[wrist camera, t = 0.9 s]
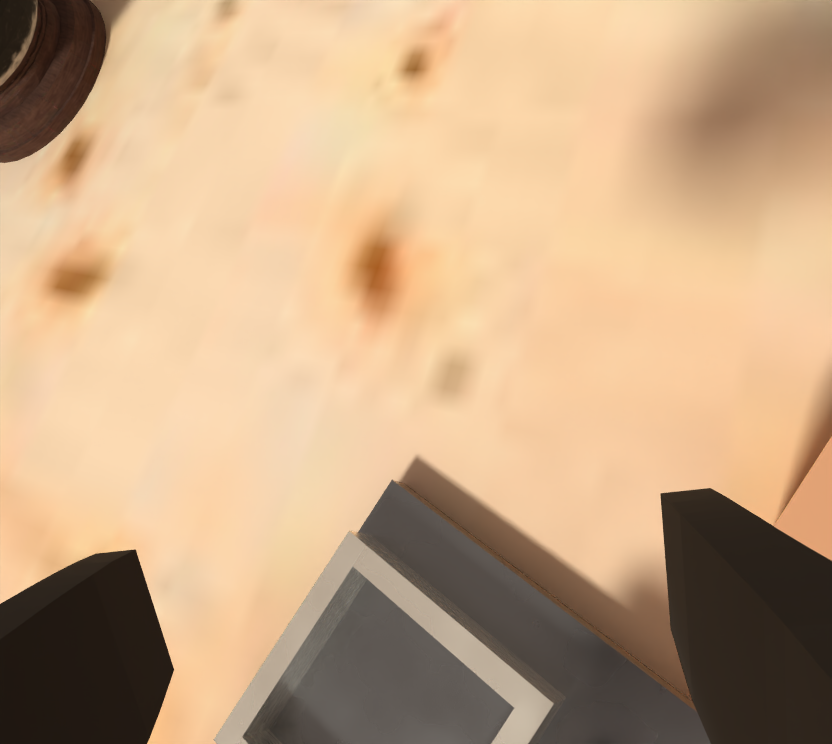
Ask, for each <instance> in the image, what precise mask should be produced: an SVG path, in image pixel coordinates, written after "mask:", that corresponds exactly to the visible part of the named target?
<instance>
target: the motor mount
mask: <svg viewBox="0 0 832 744" xmlns="http://www.w3.org/2000/svg"><path fill="white" fill-rule="evenodd" d="M214 741H215V742H216V743H217V744H711V743H710V741H709V738H708V736H707V734H706V731H705V729H704V727H703V724H702V722H701V720H700V717H699V715H698V713H697V710H696V708H695V706H694V703H693V702H692V701H691V700H689V699H688V698H687V697H685V696H684V695H683V694H681V693H680V692H679V691H677V690H676V689H675V688H674V687H672V686H671V685H670V684H668V683H667V682H666V681H664V680H663V679H662V678H660V677H659V676H658V675H656V674H655V673H654V672H652V671H651V670H650V669H648V668H647V667H646V666H644V665H643V664H642V663H640V662H639V661H638V660H637V659H635V658H634V657H633V656H631V655H630V654H629V653H627V652H626V651H625V650H623V649H622V648H621V647H619V646H618V645H617V644H615V643H614V642H613V641H611V640H610V639H609V638H607V637H606V636H605V635H603V634H602V633H601V632H600V631H598V630H597V629H596V628H594V627H593V626H592V625H590V624H589V623H588V622H586V621H585V620H584V619H582V618H581V617H580V616H578V615H577V614H576V613H574V612H573V611H572V610H570V609H569V608H568V607H566V606H565V605H564V604H563V603H561V602H560V601H559V600H557V599H556V598H555V597H553V596H552V595H551V594H549V593H548V592H547V591H545V590H544V589H543V588H541V587H540V586H539V585H537V584H536V583H535V582H533V581H532V580H531V579H529V578H528V577H527V576H526V575H524V574H523V573H522V572H520V571H519V570H518V569H516V568H515V567H514V566H512V565H511V564H510V563H508V562H507V561H506V560H504V559H503V558H502V557H500V556H499V555H498V554H496V553H495V552H494V551H492V550H491V549H490V548H489V547H487V546H486V545H485V544H483V543H482V542H481V541H479V540H478V539H477V538H475V537H474V536H473V535H471V534H470V533H469V532H467V531H466V530H465V529H463V528H462V527H461V526H459V525H458V524H457V523H455V522H454V521H453V520H451V519H450V518H449V517H448V516H446V515H445V514H444V513H442V512H441V511H440V510H438V509H437V508H436V507H434V506H433V505H432V504H430V503H429V502H428V501H426V500H425V499H424V498H422V497H421V496H420V495H418V494H417V493H416V492H414V491H413V490H412V489H411V488H409V487H408V486H407V485H405V484H403V483H400V482H397V481H394V480H392V481H391V482H390V484H389V485H388V487H387V488H386V490H385V492H384V493H383V495H382V496H381V498H380V499H379V501H378V502H377V504H376V505H375V507H374V509H373V510H372V512H371V513H370V515H369V516H368V518H367V519H366V521H365V522H364V524H363V525H362V527H361V529H360V530H359V532H352V531H349V532H348V534H347V535H346V537H345V538H344V540H343V541H342V543H341V544H340V546H339V547H338V549H337V550H336V552H335V554H334V555H333V557H332V558H331V560H330V561H329V563H328V564H327V566H326V567H325V569H324V571H323V572H322V574H321V575H320V577H319V578H318V580H317V581H316V583H315V584H314V586H313V587H312V589H311V591H310V592H309V594H308V595H307V597H306V598H305V600H304V601H303V603H302V604H301V606H300V607H299V609H298V611H297V612H296V614H295V615H294V617H293V618H292V620H291V621H290V623H289V624H288V626H287V628H286V629H285V631H284V632H283V634H282V635H281V637H280V638H279V640H278V641H277V643H276V644H275V646H274V648H273V649H272V651H271V652H270V654H269V655H268V657H267V658H266V660H265V661H264V663H263V665H262V666H261V668H260V669H259V671H258V672H257V674H256V675H255V677H254V678H253V680H252V681H251V683H250V685H249V686H248V688H247V689H246V691H245V692H244V694H243V695H242V697H241V698H240V700H239V701H238V703H237V705H236V706H235V708H234V709H233V711H232V712H231V714H230V715H229V717H228V718H227V720H226V722H225V723H224V725H223V726H222V728H221V729H220V731H219V732H218V734H217V735H216V737H215V738H214Z"/></svg>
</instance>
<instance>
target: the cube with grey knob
mask: <svg viewBox="0 0 832 744" xmlns="http://www.w3.org/2000/svg"><path fill="white" fill-rule="evenodd" d="M774 527H776V528H777V529H779V530H780V531H782V532H784V533H785V534H787V535H789V536H790V537H792V538H794V539H795V540H797V541H799V542H800V543H802V544H804V545H806V546H807V547H809V548H811V549H812V550H814V551H816V552H817V553H819V554H821V555H823V556H824V557H826V558H828V559H830V560H831V561H832V437H831V438H830V440H829V441H828V443H827V444H826V446H825V447H824V449H823V450H822V452H821V454H820V455H819V457H818V458H817V460H816V461H815V463H814V464H813V466H812V467H811V469H810V471H809V472H808V474H807V475H806V477H805V478H804V480H803V481H802V483H801V484H800V486H799V488H798V489H797V491H796V492H795V494H794V495H793V497H792V498H791V500H790V501H789V503H788V505H787V506H786V508H785V509H784V511H783V512H782V514H781V515H780V517H779V518H778V520H777V522H776V523H775V525H774Z"/></svg>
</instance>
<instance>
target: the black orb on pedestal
mask: <svg viewBox="0 0 832 744" xmlns="http://www.w3.org/2000/svg"><path fill="white" fill-rule="evenodd" d="M105 43H106V33H105V24H104V21H103V18H102V16H101V13H100V12H99V10H98V9H97V8H96V7H95V5H94V4H93V3H92V2H90V1H89V0H0V162H2V163H6V162H12V161H18V160H20V159H22V158H25V157H27V156H30V155H32V154H33V153H35V152H37V151H38V150H40V149H41V148H43V147H44V146H46V145H47V144H48V143H49V142H51V141H52V140H53V139H54V138H55V137H56V136H58V135H59V134H60V133H61V132H62V131H63V129H64V128H65V127H66V126H67V125H68V124H69V123H70V122H71V121H72V119H73V118H74V117H75V115H76V114H77V113H78V111H79V110H80V108H81V107H82V106H83V104H84V102H85V101H86V99H87V97H88V95H89V94H90V92H91V90H92V88H93V86H94V84H95V81H96V79H97V76H98V74H99V71H100V69H101V65H102V61H103V57H104V53H105Z"/></svg>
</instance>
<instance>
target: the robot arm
mask: <svg viewBox="0 0 832 744" xmlns="http://www.w3.org/2000/svg"><path fill="white" fill-rule="evenodd" d="M661 506H662V519H663V533H664V546H665V559H666V572H667V585H668V598H669V612H670V625H671V631H672V634H673V638H674V641H675V645H676V648H677V651H678V655H679V658H680V662H681V665H682V669H683V672H684V675H685V678H686V681H687V685H688V688H689V691H690V694H691V698H692V701H693V703H694V706H695V708H696V710H697V713H698V715H699V717H700V720H701V722H702V724H703V727H704V729H705V731H706V734H707V736H708V738H709V741H710V743H711V744H832V561H831V560H830V559H828V558H826V557H824V556H823V555H821V554H819V553H817V552H816V551H814V550H812V549H811V548H809V547H807V546H806V545H804V544H802V543H800V542H799V541H797V540H795V539H794V538H792V537H790V536H789V535H787V534H785V533H784V532H782V531H780V530H779V529H777V528H776V527H774V526H772V525H771V524H769V523H767V522H766V521H764V520H763V519H761V518H759V517H758V516H756V515H754V514H753V513H751V512H750V511H748V510H746V509H745V508H743V507H742V506H740V505H738V504H737V503H735V502H733V501H732V500H730V499H729V498H727V497H725V496H723V495H722V494H720V493H718V492H716V491H715V490H713V489H711V488H707V489H698V490H689V491H679V492H670V493H661ZM173 671H174V668H173V665H172V662H171V659H170V656H169V653H168V649H167V646H166V643H165V640H164V637H163V634H162V631H161V628H160V624H159V621H158V618H157V615H156V612H155V609H154V606H153V603H152V599H151V596H150V593H149V590H148V587H147V584H146V581H145V577H144V574H143V571H142V568H141V565H140V562H139V559H138V556H137V552H136V550H127V551H117V552H108V553H99V554H94V555H92V556H89V557H87V558H85V559H82V560H80V561H78V562H76V563H74V564H72V565H70V566H68V567H66V568H64V569H62V570H60V571H58V572H56V573H54V574H52V575H51V576H49V577H47V578H45V579H43V580H41V581H40V582H38V583H36V584H34V585H33V586H31V587H29V588H27V589H25V590H24V591H22V592H20V593H19V594H17V595H15V596H13V597H12V598H10V599H8V600H6V601H5V602H3V603H1V604H0V744H147V742H148V740H149V738H150V735H151V733H152V730H153V728H154V725H155V722H156V720H157V717H158V715H159V712H160V709H161V707H162V704H163V701H164V698H165V695H166V692H167V689H168V686H169V683H170V680H171V677H172V674H173Z"/></svg>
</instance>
